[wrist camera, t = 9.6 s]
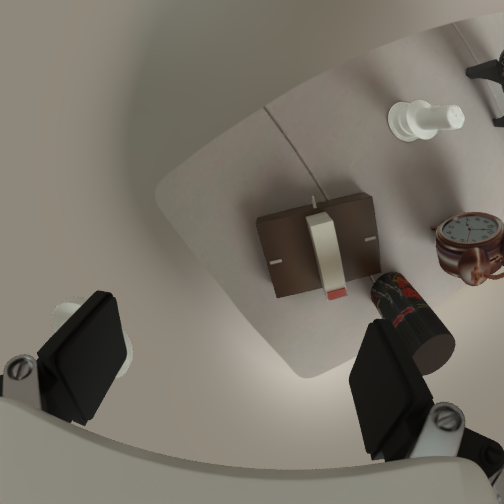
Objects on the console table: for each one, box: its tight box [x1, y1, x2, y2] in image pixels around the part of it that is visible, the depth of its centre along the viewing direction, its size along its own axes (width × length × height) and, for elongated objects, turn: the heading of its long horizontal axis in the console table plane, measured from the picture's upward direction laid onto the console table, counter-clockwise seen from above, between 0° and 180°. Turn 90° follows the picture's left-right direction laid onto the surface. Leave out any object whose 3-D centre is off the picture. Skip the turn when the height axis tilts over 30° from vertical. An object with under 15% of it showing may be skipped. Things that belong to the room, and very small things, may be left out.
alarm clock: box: [431, 212, 504, 286], centre depth 26 cm, size 11×5×15 cm, turn 113°
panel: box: [256, 192, 381, 298], centre depth 34 cm, size 14×13×3 cm
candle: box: [388, 100, 465, 142], centre depth 23 cm, size 5×5×12 cm
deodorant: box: [371, 272, 455, 376], centre depth 30 cm, size 6×6×15 cm
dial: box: [306, 212, 347, 301], centre depth 31 cm, size 9×2×4 cm, turn 17°
